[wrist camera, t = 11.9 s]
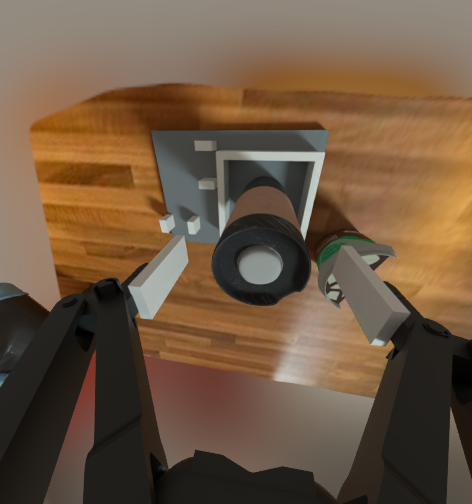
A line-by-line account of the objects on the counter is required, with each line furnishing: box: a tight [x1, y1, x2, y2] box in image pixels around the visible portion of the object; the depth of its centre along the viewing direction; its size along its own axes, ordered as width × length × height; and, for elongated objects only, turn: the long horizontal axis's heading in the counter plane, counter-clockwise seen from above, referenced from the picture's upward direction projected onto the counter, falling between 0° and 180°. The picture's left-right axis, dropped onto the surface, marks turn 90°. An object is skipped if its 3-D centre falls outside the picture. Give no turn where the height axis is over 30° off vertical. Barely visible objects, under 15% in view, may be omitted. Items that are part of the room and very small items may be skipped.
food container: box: [315, 229, 397, 309], centre depth 30 cm, size 12×6×10 cm, turn 159°
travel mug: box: [212, 176, 311, 306], centre depth 22 cm, size 8×8×20 cm
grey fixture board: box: [151, 130, 330, 244], centre depth 31 cm, size 26×19×2 cm
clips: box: [159, 141, 217, 234], centre depth 30 cm, size 10×14×3 cm
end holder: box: [216, 150, 325, 241], centre depth 28 cm, size 14×14×4 cm
